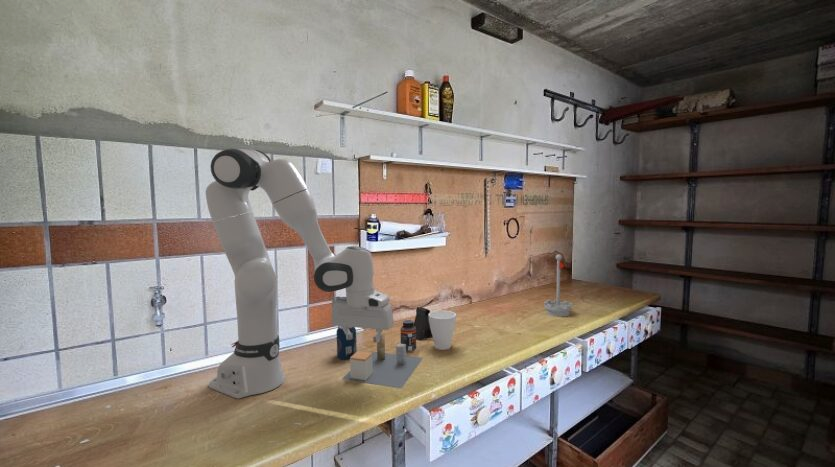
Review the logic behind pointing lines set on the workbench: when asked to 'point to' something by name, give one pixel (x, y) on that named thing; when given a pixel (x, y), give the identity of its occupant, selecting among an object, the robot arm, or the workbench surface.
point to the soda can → (346, 344)
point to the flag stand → (558, 298)
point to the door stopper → (422, 324)
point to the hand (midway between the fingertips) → (363, 340)
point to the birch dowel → (381, 348)
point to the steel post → (401, 354)
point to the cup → (442, 328)
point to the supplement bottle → (408, 335)
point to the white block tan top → (361, 365)
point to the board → (389, 371)
